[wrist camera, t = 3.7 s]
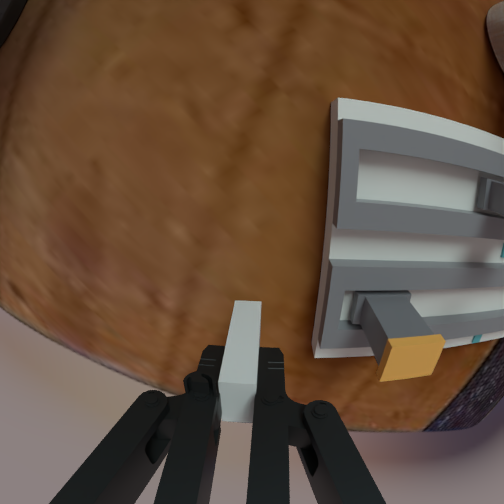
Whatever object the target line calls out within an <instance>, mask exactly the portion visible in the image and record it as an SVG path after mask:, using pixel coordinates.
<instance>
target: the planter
mask: <svg viewBox="0 0 504 504" xmlns="http://www.w3.org/2000/svg"><path fill="white" fill-rule="evenodd" d="M486 22H487V31H488V36H489V40H490V43H491V46H492V49H493V52H494V55H495V57H496V59H497V61H498V64H499V66H500V68H501V70H502V72H503V73H504V1H503V2H500V3H498V4H496V5H494V6H493V7H491V8H490V9H489V11H488V13H487V20H486Z"/></svg>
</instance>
